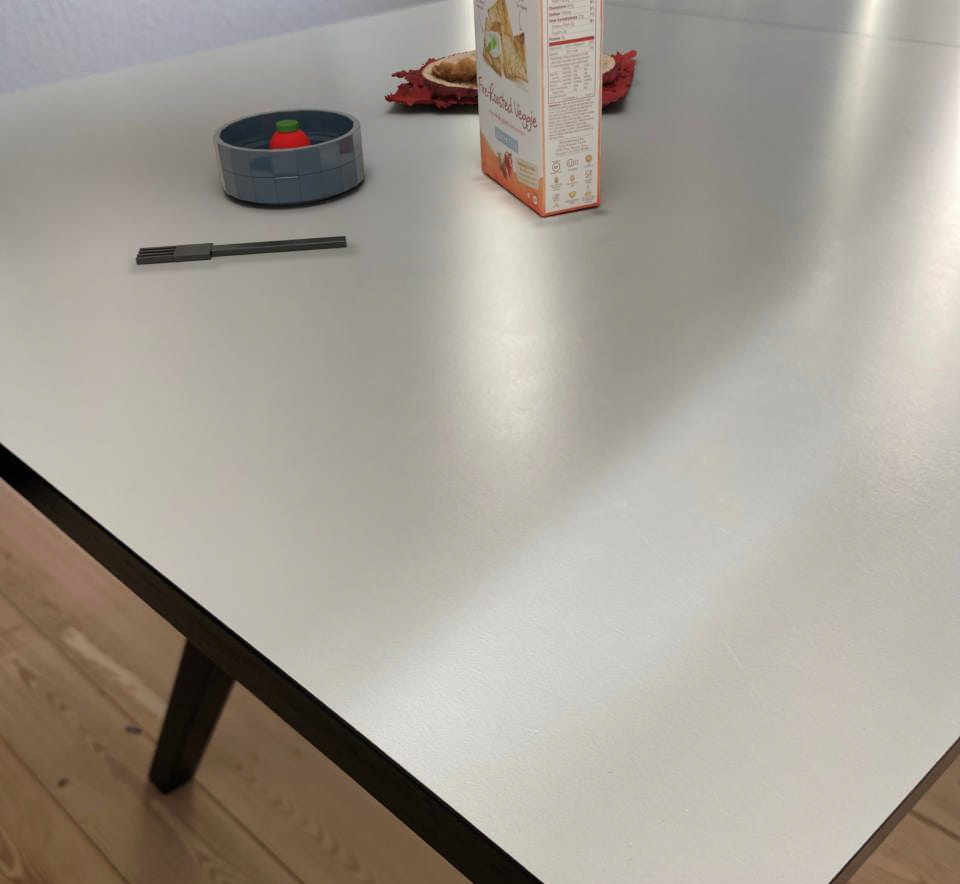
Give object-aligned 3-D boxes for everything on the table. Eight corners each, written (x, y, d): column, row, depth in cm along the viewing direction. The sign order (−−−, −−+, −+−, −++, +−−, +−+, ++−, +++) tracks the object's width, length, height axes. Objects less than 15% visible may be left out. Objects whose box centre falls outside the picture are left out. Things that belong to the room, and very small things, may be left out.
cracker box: (476, 173, 105) (465, -92, 91) (535, 163, 106) (532, -99, 93) (538, 220, 95) (535, -71, 81) (602, 207, 96) (609, -79, 83)
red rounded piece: (273, 186, 102) (264, 130, 99) (275, 173, 105) (267, 118, 102) (314, 183, 103) (307, 127, 99) (316, 170, 105) (308, 115, 102)
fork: (346, 249, 91) (345, 243, 91) (136, 264, 91) (135, 258, 90) (346, 238, 93) (345, 233, 93) (141, 253, 93) (139, 247, 92)
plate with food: (623, 117, 117) (625, 81, 115) (385, 111, 121) (382, 76, 119) (636, 65, 135) (638, 33, 133) (429, 60, 139) (428, 29, 137)
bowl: (216, 214, 99) (205, 156, 96) (230, 168, 109) (220, 113, 106) (365, 204, 99) (359, 145, 96) (365, 159, 110) (360, 104, 106)
